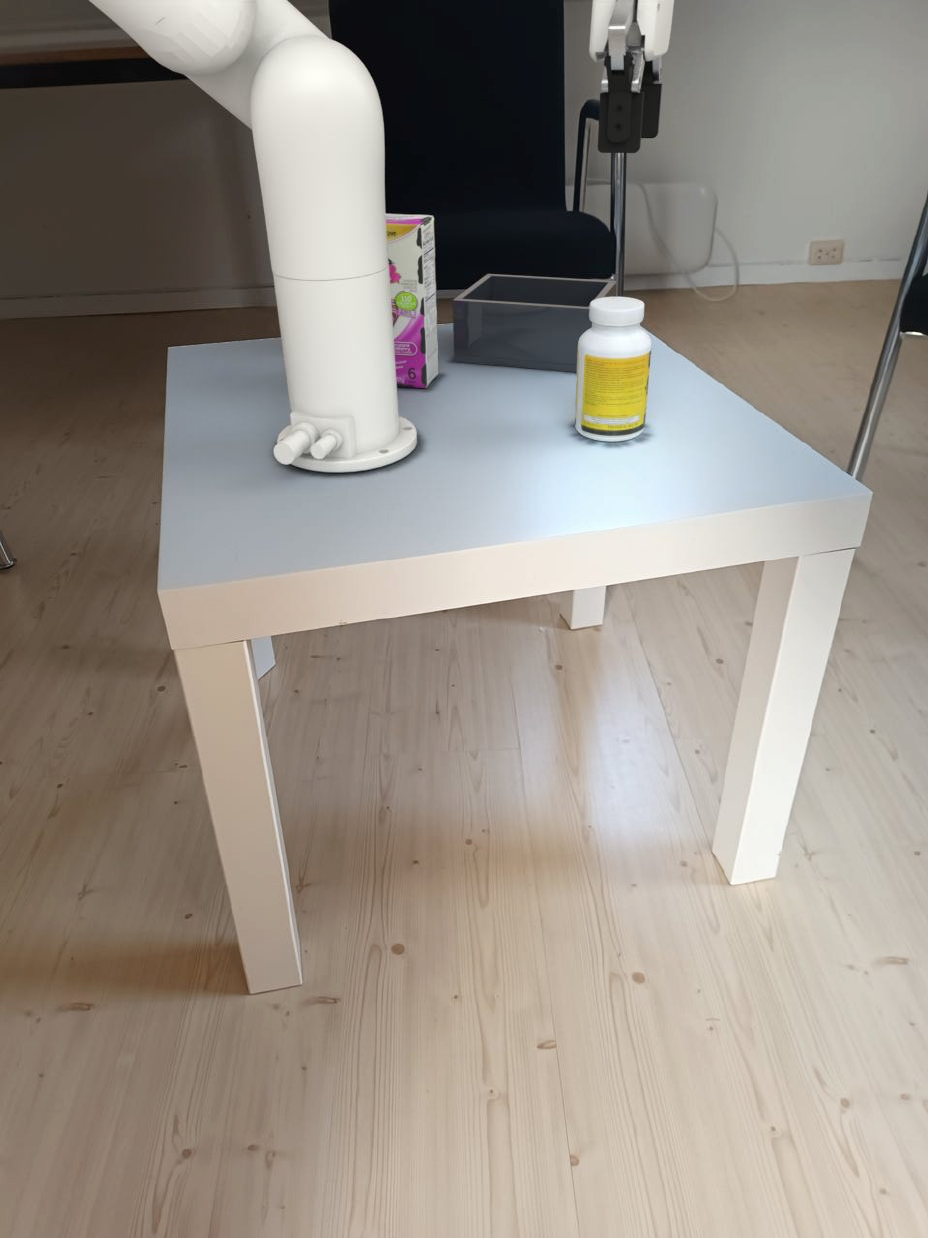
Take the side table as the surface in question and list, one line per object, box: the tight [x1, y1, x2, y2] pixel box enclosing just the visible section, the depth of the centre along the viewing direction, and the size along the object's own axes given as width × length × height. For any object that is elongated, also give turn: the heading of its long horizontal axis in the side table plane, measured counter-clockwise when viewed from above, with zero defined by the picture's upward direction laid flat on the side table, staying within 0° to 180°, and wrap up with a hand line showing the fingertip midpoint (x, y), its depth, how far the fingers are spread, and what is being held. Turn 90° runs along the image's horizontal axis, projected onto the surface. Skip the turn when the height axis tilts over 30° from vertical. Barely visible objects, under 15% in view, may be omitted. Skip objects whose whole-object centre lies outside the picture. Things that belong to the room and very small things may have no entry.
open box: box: [452, 273, 617, 373], centre depth 105 cm, size 13×16×7 cm
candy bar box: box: [386, 213, 440, 389], centre depth 95 cm, size 11×5×16 cm, turn 76°
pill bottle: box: [574, 296, 652, 442], centre depth 83 cm, size 6×6×12 cm
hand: (629, 144), depth 75 cm, fingers open, 9 cm apart
